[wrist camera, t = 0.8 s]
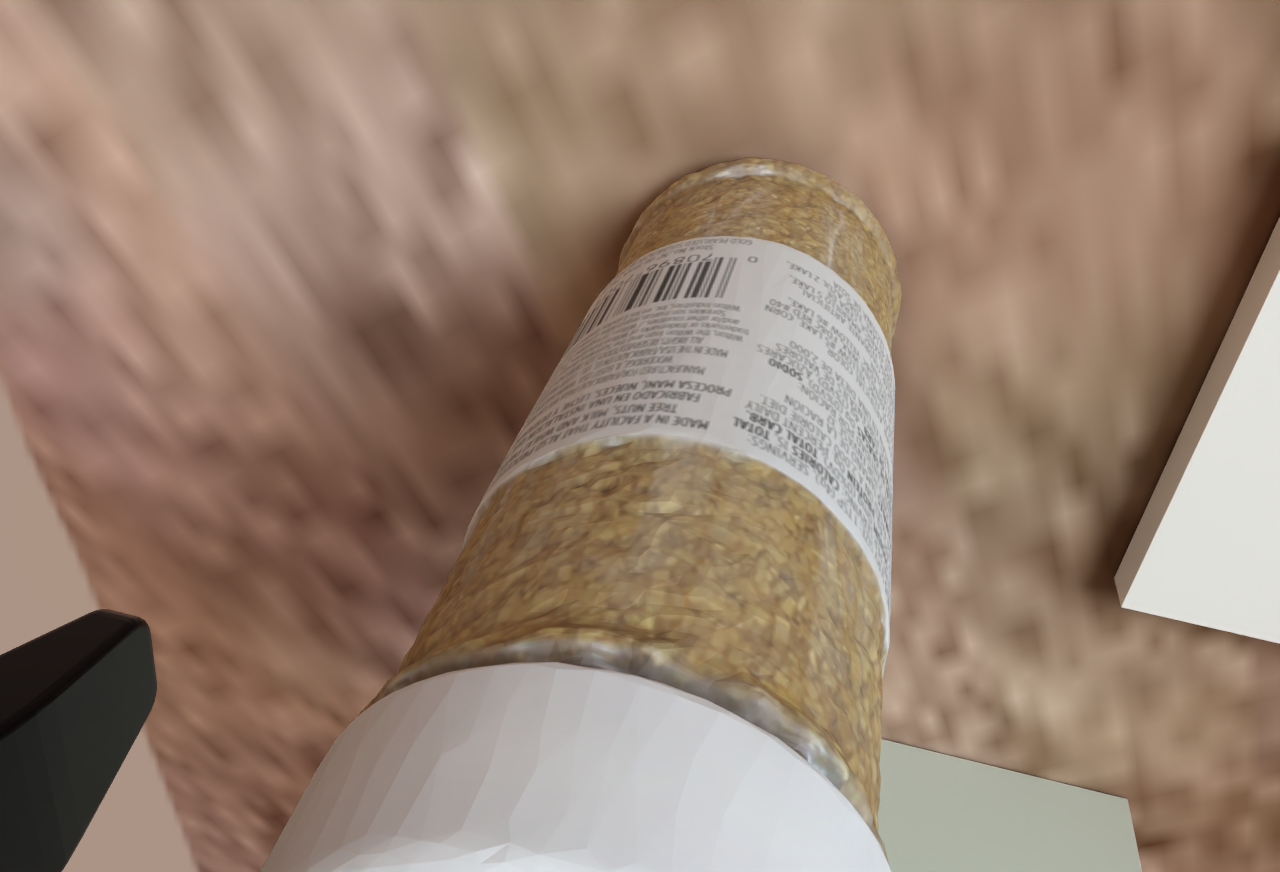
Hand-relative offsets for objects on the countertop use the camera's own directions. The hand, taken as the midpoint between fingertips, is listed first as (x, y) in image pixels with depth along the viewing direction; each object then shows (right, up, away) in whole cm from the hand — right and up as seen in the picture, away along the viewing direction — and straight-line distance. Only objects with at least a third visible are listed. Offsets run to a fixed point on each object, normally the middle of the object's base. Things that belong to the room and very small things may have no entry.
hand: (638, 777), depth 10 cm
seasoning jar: (+2, +5, +9) cm, 11 cm away
